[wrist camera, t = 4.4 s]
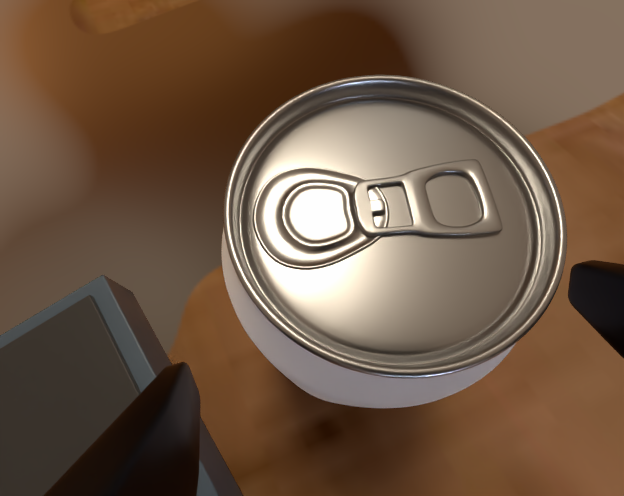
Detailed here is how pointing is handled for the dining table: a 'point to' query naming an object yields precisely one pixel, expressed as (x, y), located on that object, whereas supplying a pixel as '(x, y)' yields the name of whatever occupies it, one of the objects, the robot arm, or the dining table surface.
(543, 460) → the dining table surface
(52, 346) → the riser
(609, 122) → the dining table surface
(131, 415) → the robot arm
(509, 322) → the can
